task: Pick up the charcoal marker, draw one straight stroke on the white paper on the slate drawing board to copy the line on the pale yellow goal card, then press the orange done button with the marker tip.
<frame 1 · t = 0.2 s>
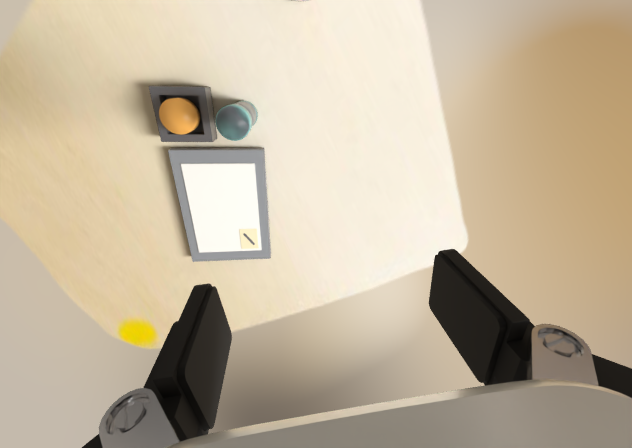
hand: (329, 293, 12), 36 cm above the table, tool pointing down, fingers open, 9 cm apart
button housing: (189, 113, 40), on the table
drawing board: (226, 207, 47), on the table
marker: (245, 114, 40), on the table
done button: (180, 116, 36), point 4 cm above the table, slide at 0.0 cm
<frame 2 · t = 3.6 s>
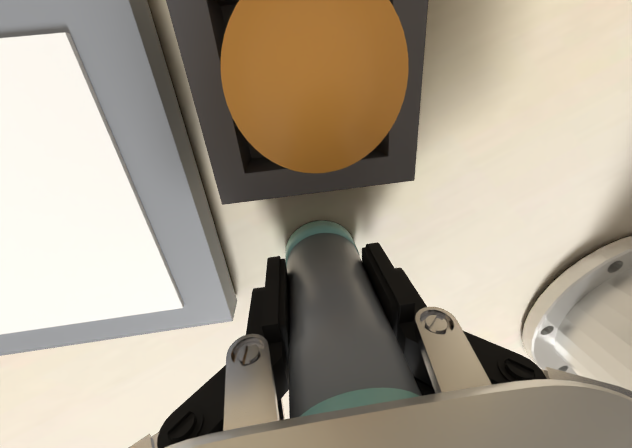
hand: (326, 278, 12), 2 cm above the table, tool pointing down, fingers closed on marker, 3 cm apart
button housing: (303, 84, 11), on the table
marker: (320, 251, 14), on the table, touching gripper
done button: (312, 82, 7), point 4 cm above the table, slide at 0.0 cm
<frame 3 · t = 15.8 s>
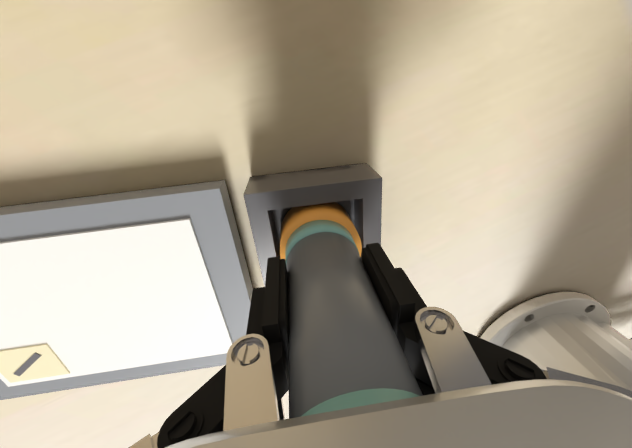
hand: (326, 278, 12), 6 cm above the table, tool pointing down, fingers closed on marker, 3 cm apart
button housing: (314, 221, 18), on the table
drawing board: (103, 295, 19), on the table
marker: (320, 250, 14), point 4 cm above the table, touching gripper
done button: (318, 241, 16), point 3 cm above the table, slide at 1.2 cm
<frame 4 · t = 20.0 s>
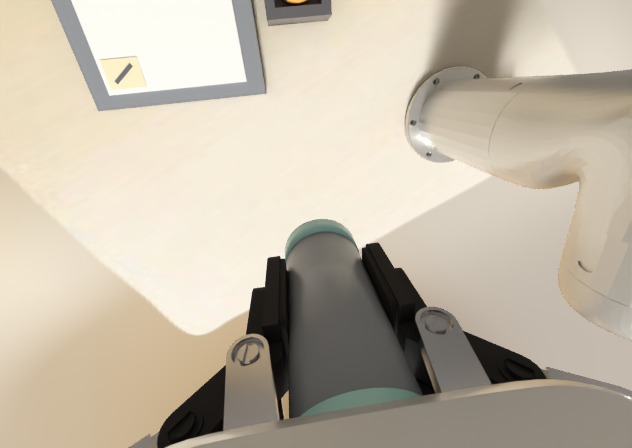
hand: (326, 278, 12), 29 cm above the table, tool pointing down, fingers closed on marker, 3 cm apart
drawing board: (168, 35, 31), on the table
marker: (320, 250, 14), point 27 cm above the table, touching gripper
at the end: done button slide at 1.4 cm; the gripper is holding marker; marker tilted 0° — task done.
